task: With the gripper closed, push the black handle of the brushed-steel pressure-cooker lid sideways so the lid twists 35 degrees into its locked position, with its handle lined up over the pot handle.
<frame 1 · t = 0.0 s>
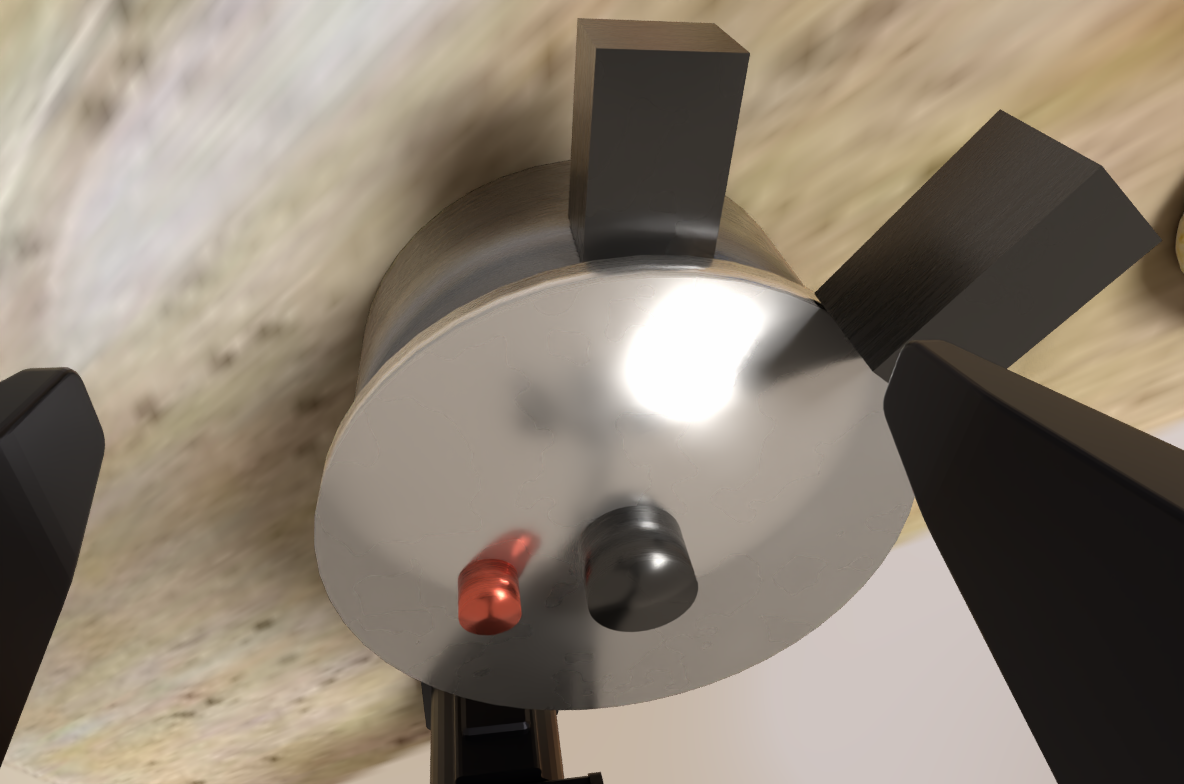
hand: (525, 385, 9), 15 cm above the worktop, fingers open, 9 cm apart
cooker pot: (586, 369, 27), on the worktop
cooker lid: (700, 505, 19), point 9 cm above the worktop, hinge at -35.0°
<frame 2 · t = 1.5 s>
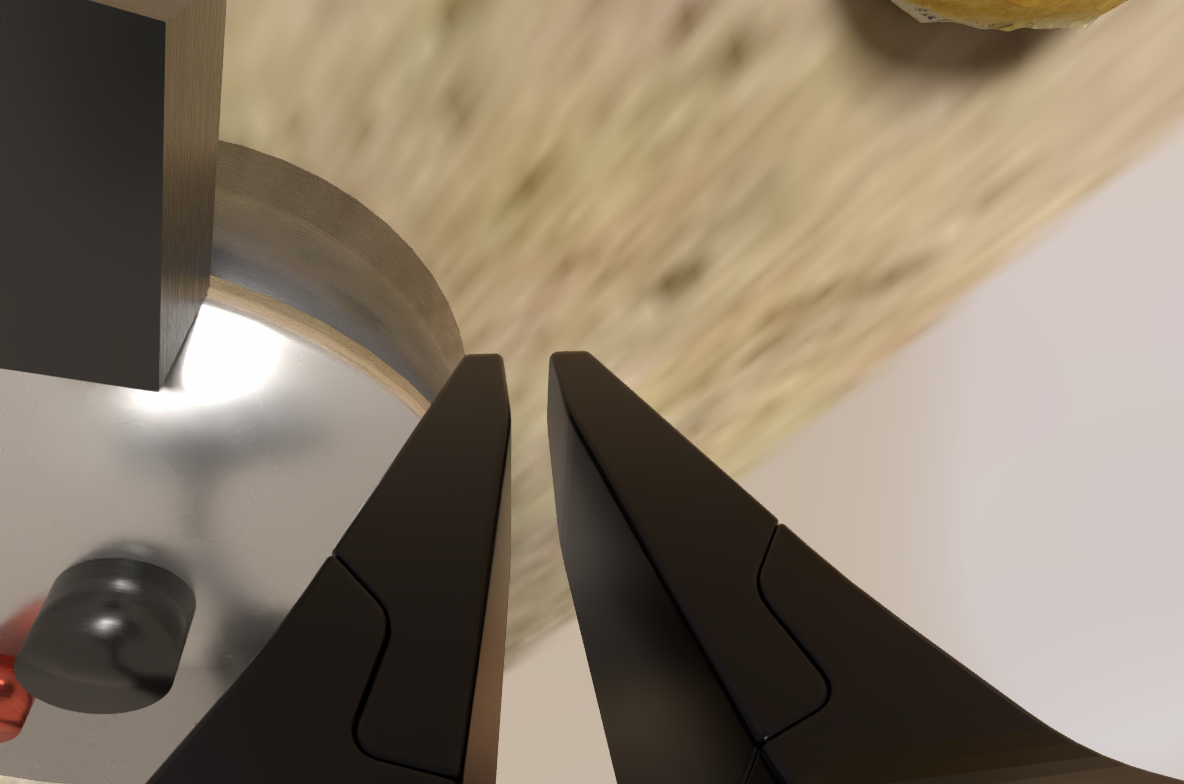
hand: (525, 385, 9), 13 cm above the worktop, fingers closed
cooker pot: (212, 382, 23), on the worktop
cooker lid: (111, 550, 15), point 9 cm above the worktop, hinge at -35.0°
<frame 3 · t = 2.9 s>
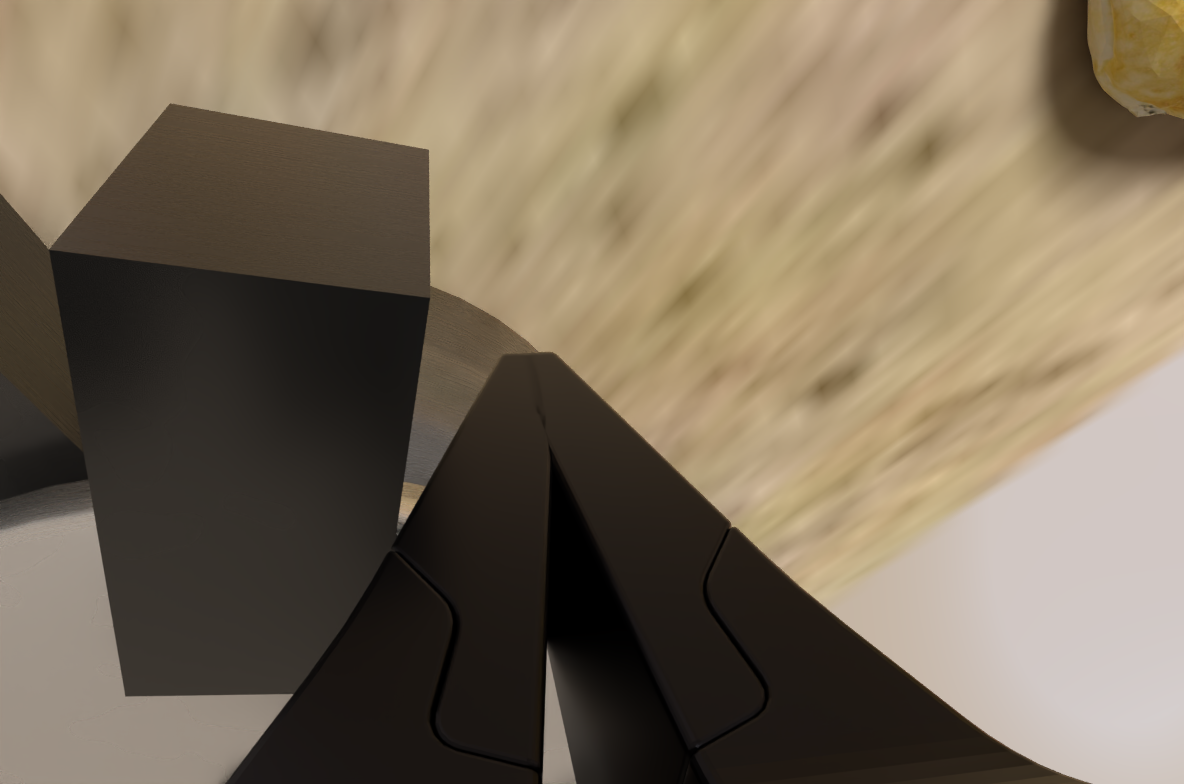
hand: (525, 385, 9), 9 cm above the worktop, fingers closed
cooker pot: (323, 509, 21), on the worktop
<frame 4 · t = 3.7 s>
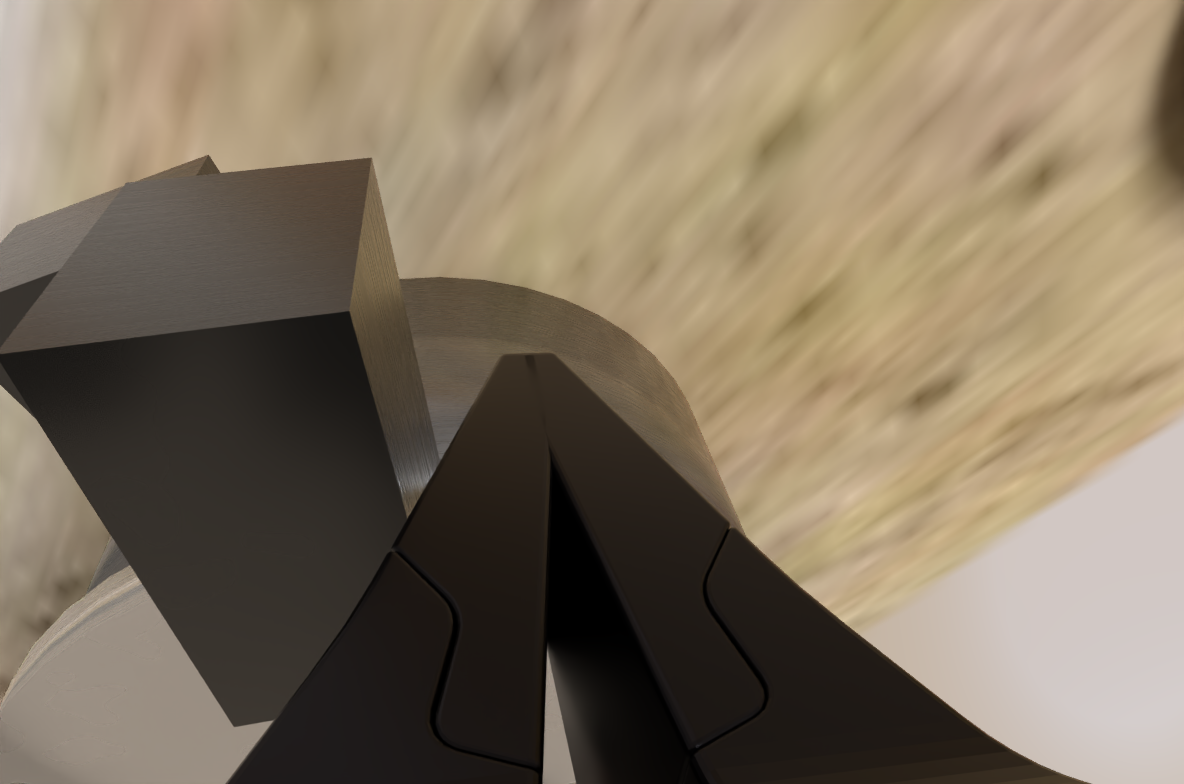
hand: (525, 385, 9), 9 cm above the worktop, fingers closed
cooker pot: (443, 513, 22), on the worktop
cooker lid: (430, 782, 13), point 9 cm above the worktop, hinge at -14.1°, touching gripper
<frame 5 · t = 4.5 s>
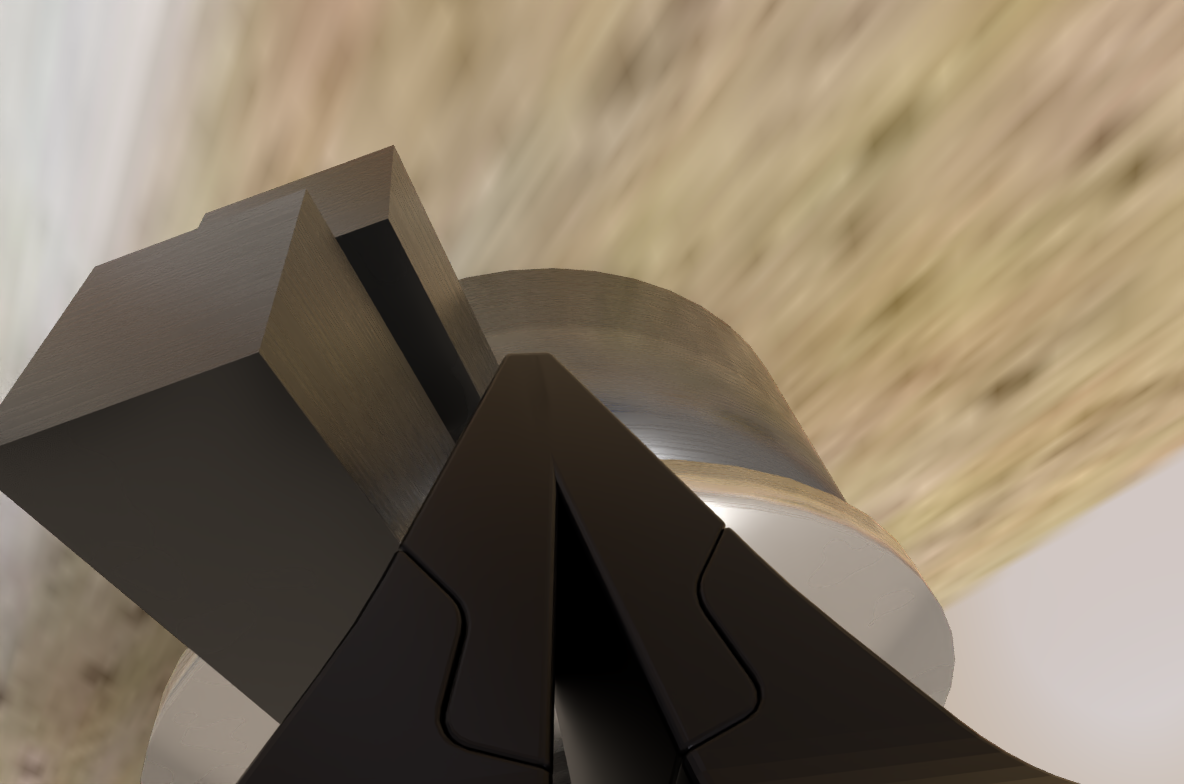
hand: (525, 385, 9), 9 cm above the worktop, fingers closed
cooker pot: (534, 502, 22), on the worktop
cooker lid: (543, 766, 14), point 9 cm above the worktop, hinge at 0.4°, touching gripper
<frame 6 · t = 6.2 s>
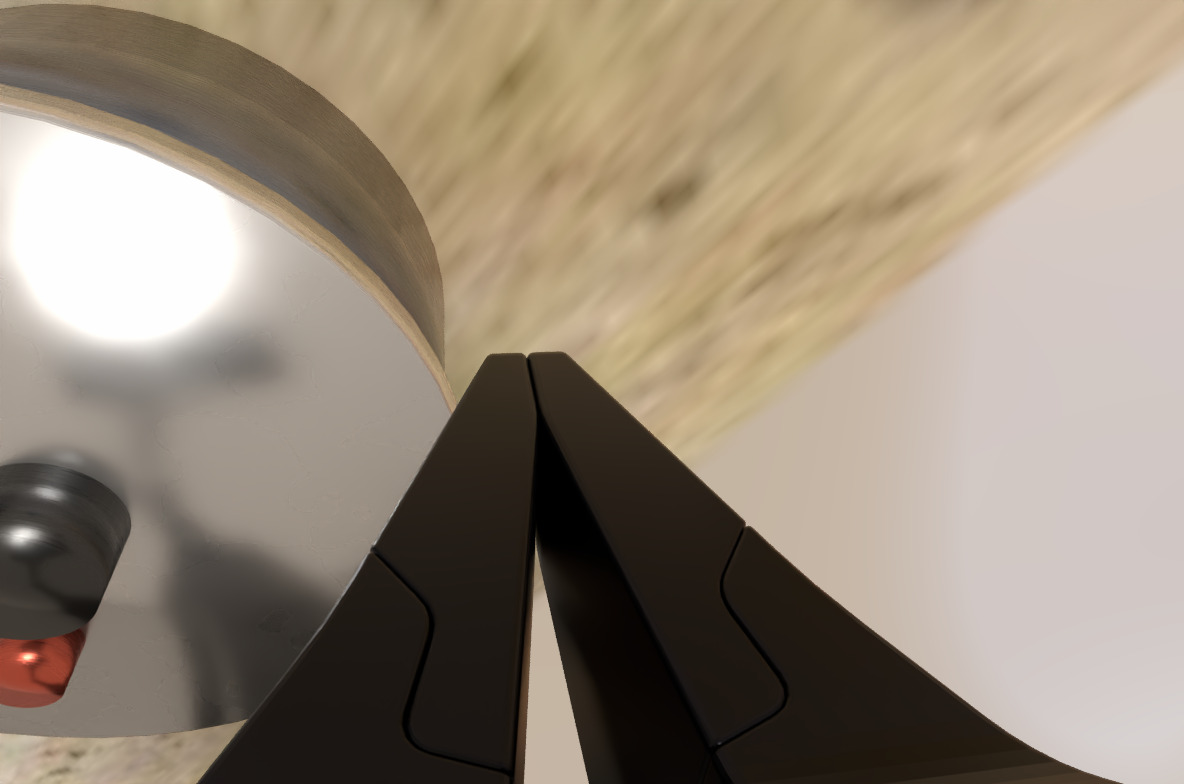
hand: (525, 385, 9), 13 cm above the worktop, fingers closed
cooker pot: (166, 303, 21), on the worktop
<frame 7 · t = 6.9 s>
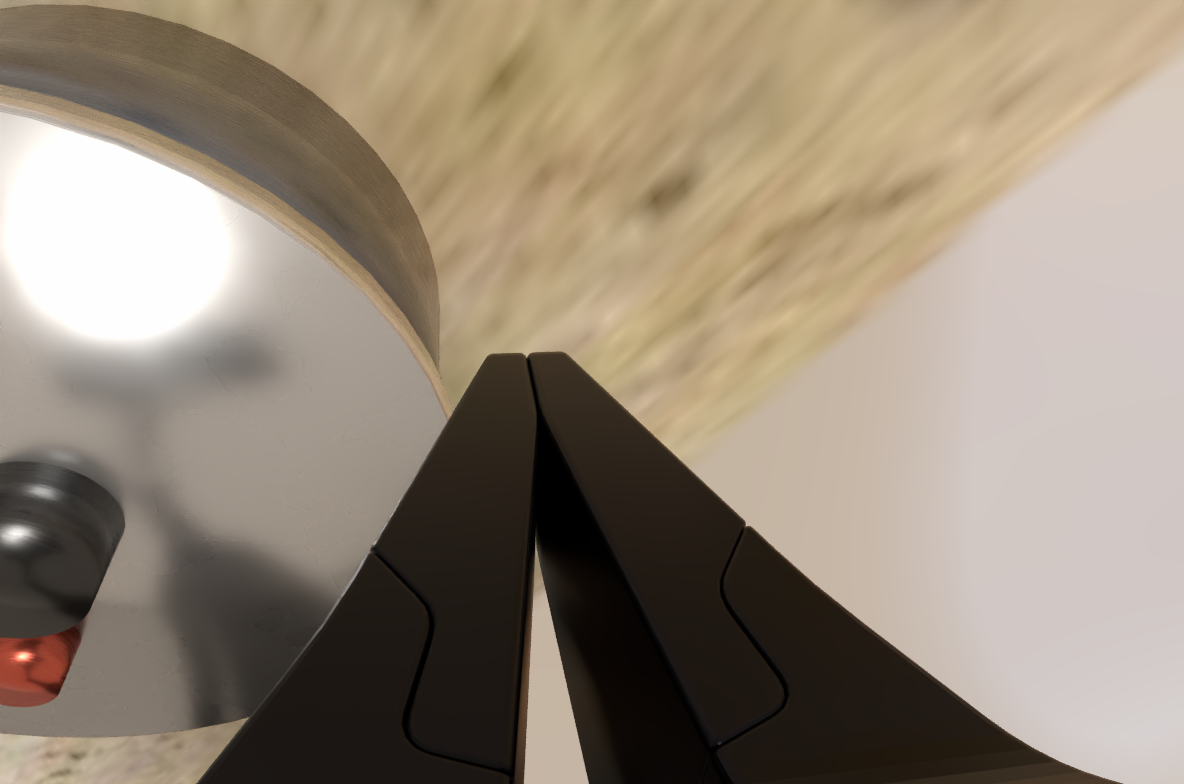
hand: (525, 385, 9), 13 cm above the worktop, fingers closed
cooker pot: (161, 303, 21), on the worktop
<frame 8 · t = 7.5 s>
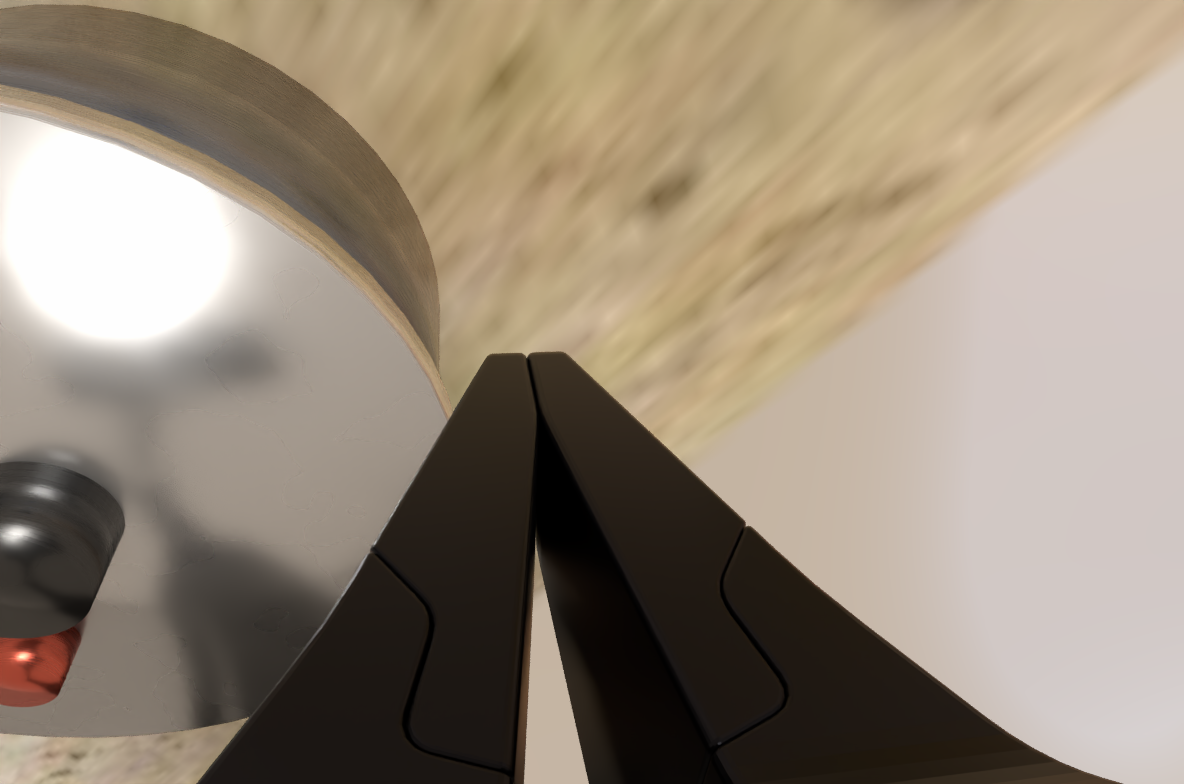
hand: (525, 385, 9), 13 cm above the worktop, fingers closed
cooker pot: (161, 303, 21), on the worktop
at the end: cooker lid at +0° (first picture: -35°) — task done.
